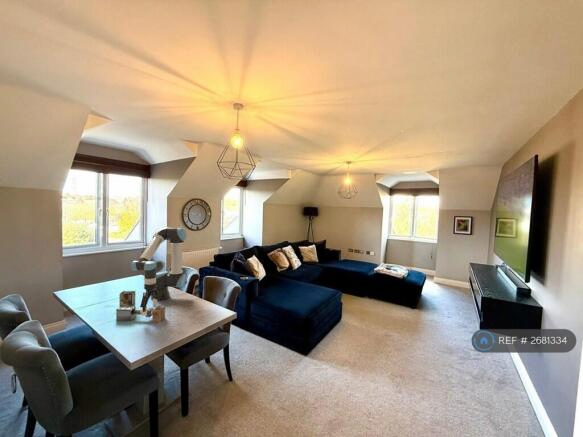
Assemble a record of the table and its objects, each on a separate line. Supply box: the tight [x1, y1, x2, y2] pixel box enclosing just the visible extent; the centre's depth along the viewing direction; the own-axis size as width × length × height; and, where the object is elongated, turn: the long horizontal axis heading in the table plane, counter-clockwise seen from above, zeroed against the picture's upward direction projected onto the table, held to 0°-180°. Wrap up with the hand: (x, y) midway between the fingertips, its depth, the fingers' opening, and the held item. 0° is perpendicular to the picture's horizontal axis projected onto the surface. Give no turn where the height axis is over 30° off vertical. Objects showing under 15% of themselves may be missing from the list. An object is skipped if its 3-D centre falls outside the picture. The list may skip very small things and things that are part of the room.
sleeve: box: [115, 305, 137, 322], centre depth 177 cm, size 6×10×8 cm, turn 91°
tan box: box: [151, 305, 166, 324], centre depth 178 cm, size 8×5×9 cm, turn 1°
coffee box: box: [119, 290, 136, 307], centre depth 188 cm, size 9×6×16 cm
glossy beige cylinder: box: [134, 307, 154, 318], centre depth 178 cm, size 5×17×5 cm, turn 91°
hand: (150, 311), depth 178 cm, fingers open, 13 cm apart
